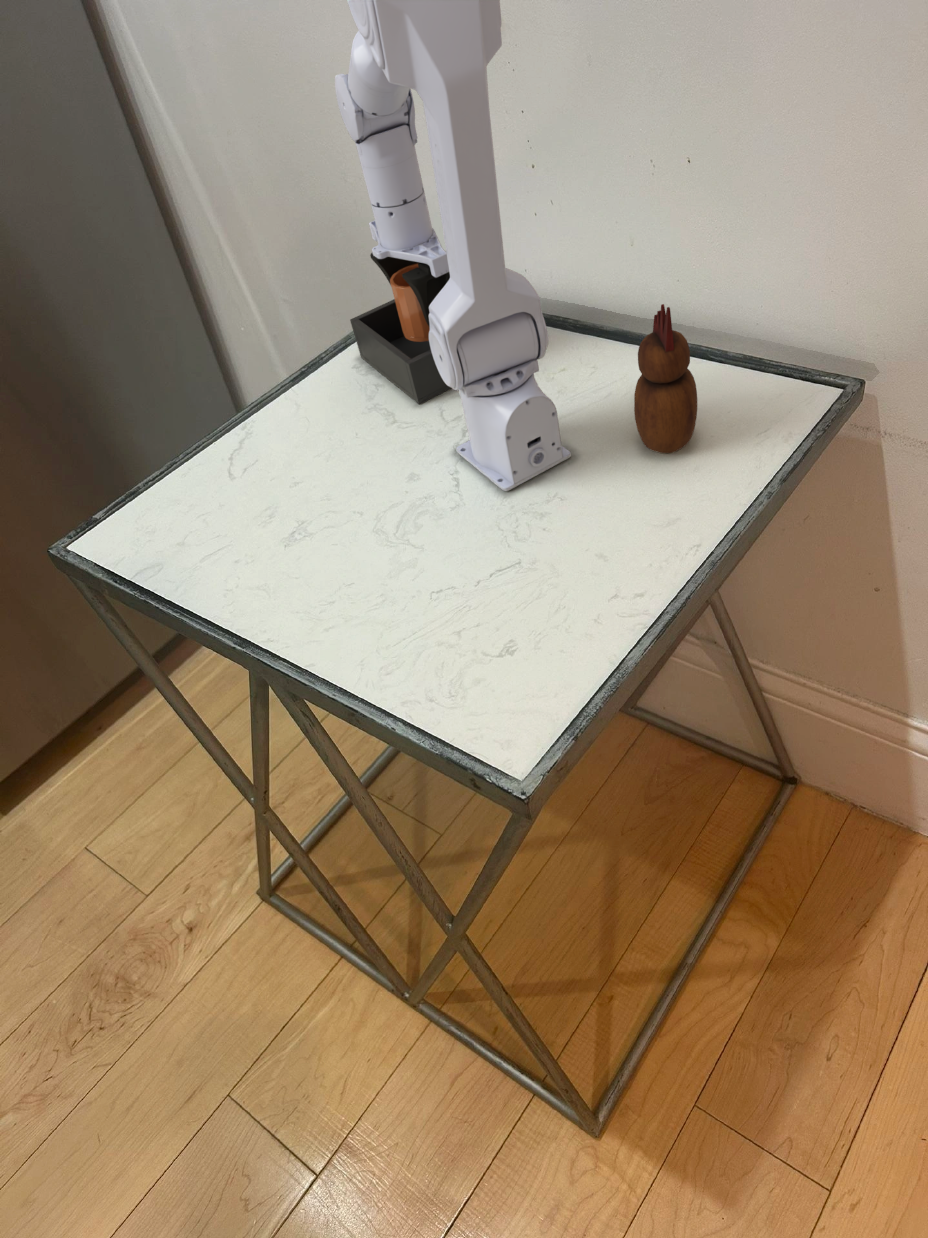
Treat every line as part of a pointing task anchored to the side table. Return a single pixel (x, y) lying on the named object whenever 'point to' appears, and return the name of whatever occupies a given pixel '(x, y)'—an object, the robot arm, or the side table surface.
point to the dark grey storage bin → (397, 353)
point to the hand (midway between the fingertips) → (424, 315)
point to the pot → (409, 308)
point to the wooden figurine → (665, 388)
